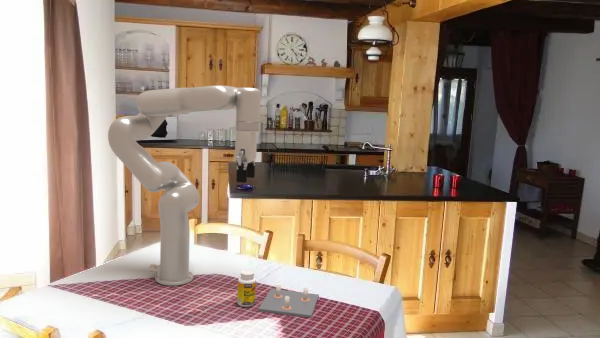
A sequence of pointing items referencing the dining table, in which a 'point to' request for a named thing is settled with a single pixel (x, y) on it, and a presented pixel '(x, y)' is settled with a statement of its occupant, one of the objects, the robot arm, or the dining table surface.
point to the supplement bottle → (246, 289)
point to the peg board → (289, 302)
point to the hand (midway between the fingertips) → (245, 179)
